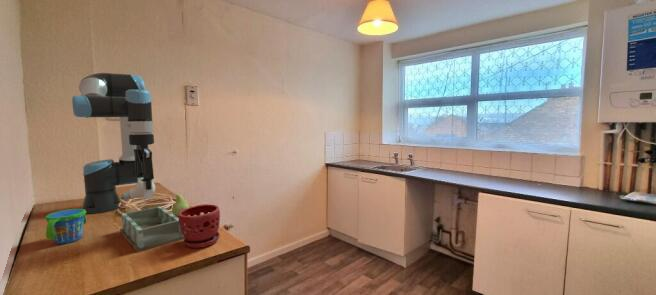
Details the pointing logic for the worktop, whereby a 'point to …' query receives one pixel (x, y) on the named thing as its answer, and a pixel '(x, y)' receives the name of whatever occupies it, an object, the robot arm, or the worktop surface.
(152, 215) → the grey plastic crate
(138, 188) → the light bulb
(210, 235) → the plant pot
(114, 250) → the worktop surface
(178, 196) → the fruit
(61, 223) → the blue plastic tub
